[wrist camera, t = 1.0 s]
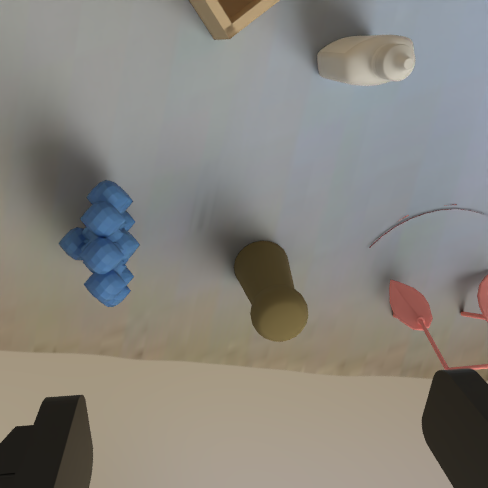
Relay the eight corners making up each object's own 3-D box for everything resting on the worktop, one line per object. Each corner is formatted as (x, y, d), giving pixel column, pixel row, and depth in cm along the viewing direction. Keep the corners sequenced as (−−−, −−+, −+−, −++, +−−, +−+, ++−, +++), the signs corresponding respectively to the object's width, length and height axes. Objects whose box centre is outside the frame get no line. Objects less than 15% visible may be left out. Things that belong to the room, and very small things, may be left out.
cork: (233, 242, 46) (249, 297, 36) (289, 238, 46) (319, 291, 37) (234, 291, 48) (249, 355, 38) (287, 287, 49) (315, 349, 39)
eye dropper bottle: (326, 22, 38) (385, 14, 27) (382, 42, 39) (459, 42, 28) (309, 73, 40) (358, 85, 29) (363, 91, 41) (430, 108, 30)
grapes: (68, 158, 40) (27, 201, 29) (143, 162, 41) (131, 205, 30) (78, 269, 45) (46, 342, 34) (145, 270, 46) (134, 341, 35)
